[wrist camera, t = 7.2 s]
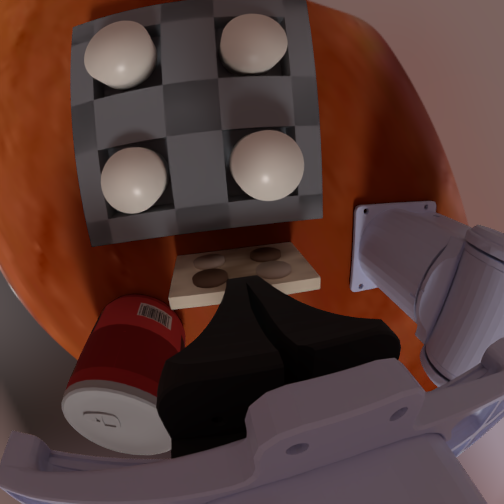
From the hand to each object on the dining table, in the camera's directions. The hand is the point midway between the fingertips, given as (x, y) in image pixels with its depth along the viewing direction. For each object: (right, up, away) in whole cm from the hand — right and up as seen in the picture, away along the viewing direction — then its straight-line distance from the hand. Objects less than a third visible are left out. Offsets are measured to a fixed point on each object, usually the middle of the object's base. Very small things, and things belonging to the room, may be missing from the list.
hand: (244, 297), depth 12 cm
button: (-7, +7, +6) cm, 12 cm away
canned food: (-10, -5, +12) cm, 16 cm away
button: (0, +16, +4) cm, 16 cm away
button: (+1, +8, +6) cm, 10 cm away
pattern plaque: (-1, +2, +10) cm, 11 cm away
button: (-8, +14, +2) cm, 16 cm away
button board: (-4, +12, +6) cm, 14 cm away
